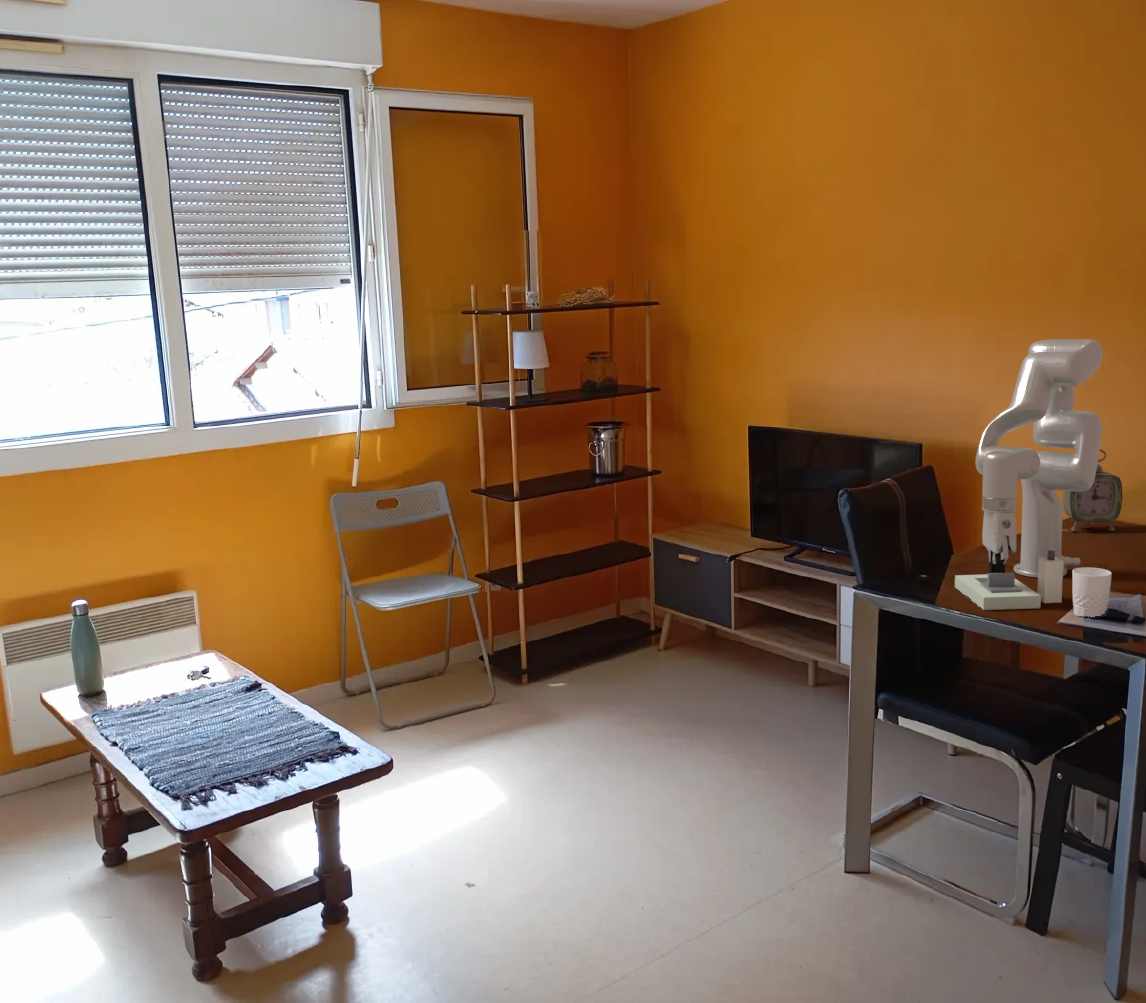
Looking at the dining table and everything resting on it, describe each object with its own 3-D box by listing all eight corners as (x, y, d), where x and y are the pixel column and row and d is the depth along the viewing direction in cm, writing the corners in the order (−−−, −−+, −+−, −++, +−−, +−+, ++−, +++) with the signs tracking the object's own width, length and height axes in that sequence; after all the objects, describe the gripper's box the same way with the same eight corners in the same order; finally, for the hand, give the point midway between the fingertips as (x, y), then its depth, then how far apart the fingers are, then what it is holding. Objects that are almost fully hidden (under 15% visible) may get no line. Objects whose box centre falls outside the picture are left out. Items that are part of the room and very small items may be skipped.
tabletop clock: (1068, 533, 311) (1072, 450, 306) (1059, 527, 320) (1063, 446, 315) (1120, 533, 308) (1125, 449, 304) (1110, 526, 317) (1114, 445, 312)
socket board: (1007, 585, 260) (1007, 573, 259) (1040, 608, 240) (1040, 595, 240) (954, 587, 260) (955, 575, 260) (983, 610, 241) (983, 597, 240)
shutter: (1009, 583, 250) (1010, 569, 249) (1021, 591, 243) (1022, 576, 243) (980, 584, 250) (980, 570, 250) (991, 592, 244) (991, 577, 243)
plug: (1054, 597, 248) (1056, 548, 246) (1061, 602, 244) (1063, 552, 242) (1037, 598, 248) (1039, 549, 246) (1044, 603, 244) (1046, 553, 242)
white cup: (1063, 610, 238) (1065, 568, 236) (1096, 608, 238) (1098, 566, 236) (1082, 621, 230) (1084, 577, 228) (1116, 618, 230) (1119, 574, 229)
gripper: (1027, 509, 238) (1024, 586, 241) (1003, 497, 253) (1000, 571, 256) (994, 510, 238) (991, 587, 242) (972, 498, 253) (970, 571, 256)
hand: (996, 579), depth 249 cm, fingers closed
